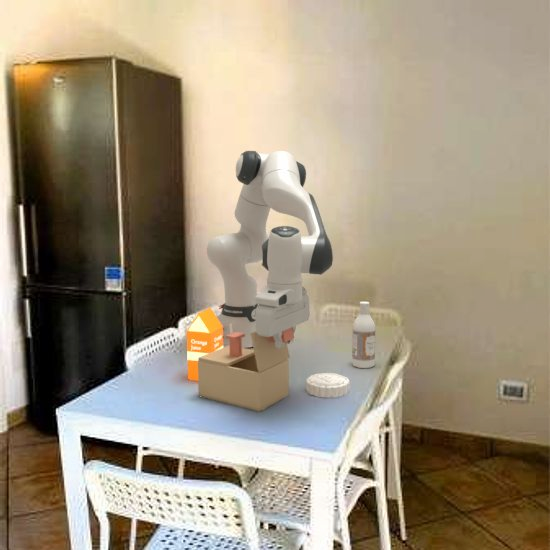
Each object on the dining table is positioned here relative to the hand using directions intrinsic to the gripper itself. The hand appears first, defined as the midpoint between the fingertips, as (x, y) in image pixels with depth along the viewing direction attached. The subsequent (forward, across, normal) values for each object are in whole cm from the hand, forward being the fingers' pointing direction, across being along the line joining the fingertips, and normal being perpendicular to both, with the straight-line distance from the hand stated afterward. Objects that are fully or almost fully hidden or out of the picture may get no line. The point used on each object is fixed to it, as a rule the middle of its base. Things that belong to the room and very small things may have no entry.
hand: (284, 345), depth 156 cm
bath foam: (+17, -41, +3) cm, 44 cm away
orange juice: (+17, -7, -32) cm, 37 cm away
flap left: (+7, 0, -18) cm, 19 cm away
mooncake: (+17, -16, +4) cm, 23 cm away
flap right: (+1, 0, -4) cm, 5 cm away
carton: (+16, 0, -12) cm, 21 cm away
